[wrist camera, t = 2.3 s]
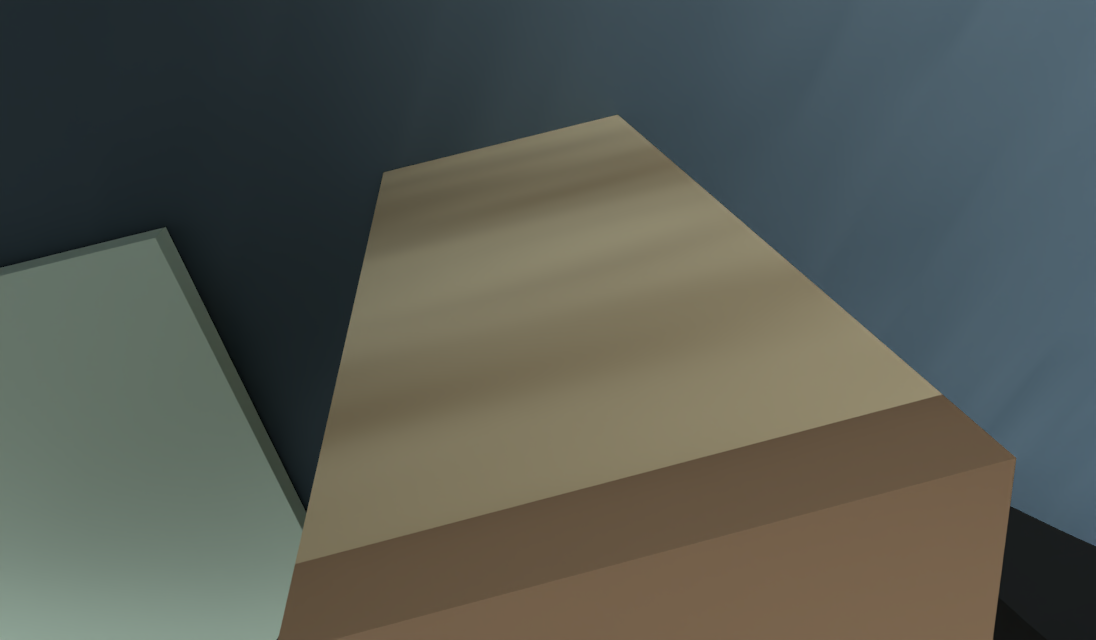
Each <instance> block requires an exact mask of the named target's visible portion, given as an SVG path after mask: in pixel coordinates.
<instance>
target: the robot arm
mask: <svg viewBox="0 0 1096 640" xmlns="http://www.w3.org/2000/svg"><path fill="white" fill-rule="evenodd" d="M278 637H279V636H278ZM277 640H278V638H277ZM993 640H1096V546H1094V545H1091V544H1089V543H1087V542H1085V541H1082V540H1080V539H1078V538H1076V537H1073V536H1071V535H1069V534H1067V533H1065V532H1063V531H1060V530H1058V529H1056V528H1054V527H1052V526H1050V525H1048V524H1046V523H1044V522H1042V521H1040V520H1038V519H1036V518H1034V517H1031V516H1029V515H1027V514H1025V513H1023V512H1021V511H1019V510H1017V509H1015V508H1013V507H1011V506H1010V510H1009V518H1008V525H1007V533H1006V541H1005V549H1004V556H1003V564H1002V572H1001V580H1000V587H999V595H998V603H997V611H996V618H995V626H994V634H993Z"/></svg>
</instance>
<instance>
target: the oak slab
mask: <svg viewBox="0 0 1096 640" xmlns="http://www.w3.org/2000/svg"><path fill="white" fill-rule="evenodd" d="M1015 463H1016V457H1014V456H1013V455H1012V454H1011V453H1010V452H1009V451H1007V450H1006V449H1005V448H1004V447H1003V446H1002V445H1000V444H999V443H998V442H997V441H996V440H995V439H994V438H992V437H991V436H990V435H989V434H988V433H987V432H985V431H984V430H983V429H982V428H981V427H980V426H978V425H977V424H976V423H975V422H974V421H973V420H971V419H970V418H969V417H968V416H967V415H966V414H965V413H963V412H962V411H961V410H960V409H959V408H958V407H956V406H955V405H954V404H953V403H952V402H951V401H949V400H948V399H947V398H946V397H945V396H944V395H942V394H941V393H940V392H939V391H938V390H937V389H936V388H934V387H933V386H932V385H931V384H930V383H929V382H927V381H926V380H925V379H924V378H923V377H922V376H920V375H919V374H918V373H917V372H916V371H915V370H913V369H912V368H911V367H910V366H909V365H908V364H907V363H905V362H904V361H903V360H902V359H901V358H900V357H898V356H897V355H896V354H895V353H894V352H893V351H891V350H890V349H889V348H888V347H887V346H886V345H884V344H883V343H882V342H881V341H880V340H879V339H877V338H876V337H875V336H874V335H873V334H872V333H871V332H869V331H868V330H867V329H866V328H865V327H864V326H862V325H861V324H860V323H859V322H858V321H857V320H855V319H854V318H853V317H852V316H851V315H850V314H848V313H847V312H846V311H845V310H844V309H843V308H842V307H840V306H839V305H838V304H837V303H836V302H835V301H833V300H832V299H831V298H830V297H829V296H828V295H826V294H825V293H824V292H823V291H822V290H821V289H819V288H818V287H817V286H816V285H815V284H814V283H813V282H811V281H810V280H809V279H808V278H807V277H806V276H804V275H803V274H802V273H801V272H800V271H799V270H797V269H796V268H795V267H794V266H793V265H792V264H790V263H789V262H788V261H787V260H786V259H785V258H784V257H782V256H781V255H780V254H779V253H778V252H777V251H775V250H774V249H773V248H772V247H771V246H770V245H768V244H767V243H766V242H765V241H764V240H763V239H761V238H760V237H759V236H758V235H757V234H756V233H755V232H753V231H752V230H751V229H750V228H749V227H748V226H746V225H745V224H744V223H743V222H742V221H741V220H739V219H738V218H737V217H736V216H735V215H734V214H732V213H731V212H730V211H729V210H728V209H727V208H725V207H724V206H723V205H722V204H721V203H720V202H719V201H717V200H716V199H715V198H714V197H713V196H712V195H710V194H709V193H708V192H707V191H706V190H705V189H703V188H702V187H701V186H700V185H699V184H698V183H696V182H695V181H694V180H693V179H692V178H691V177H690V176H688V175H687V174H686V173H685V172H684V171H683V170H681V169H680V168H679V167H678V166H677V165H676V164H674V163H673V162H672V161H671V160H670V159H669V158H667V157H666V156H665V155H664V154H663V153H662V152H661V151H659V150H658V149H657V148H656V147H655V146H654V145H652V144H651V143H650V142H649V141H648V140H647V139H645V138H644V137H643V136H642V135H641V134H640V133H638V132H637V131H636V130H635V129H634V128H633V127H632V126H630V125H629V124H628V123H627V122H626V121H625V120H623V119H622V118H621V117H620V116H619V115H614V116H610V117H606V118H602V119H598V120H594V121H590V122H586V123H582V124H578V125H574V126H570V127H565V128H561V129H557V130H553V131H549V132H545V133H541V134H537V135H533V136H529V137H525V138H521V139H517V140H513V141H509V142H505V143H501V144H497V145H492V146H488V147H484V148H480V149H476V150H472V151H468V152H464V153H460V154H456V155H452V156H448V157H444V158H440V159H436V160H432V161H428V162H423V163H419V164H415V165H411V166H407V167H403V168H399V169H395V170H391V171H387V172H383V177H382V181H381V186H380V190H379V194H378V199H377V203H376V208H375V212H374V217H373V221H372V225H371V230H370V234H369V239H368V243H367V248H366V252H365V256H364V261H363V265H362V270H361V274H360V279H359V283H358V287H357V292H356V296H355V301H354V305H353V310H352V314H351V318H350V323H349V327H348V332H347V336H346V341H345V345H344V349H343V354H342V358H341V363H340V367H339V372H338V376H337V380H336V385H335V389H334V394H333V398H332V403H331V407H330V411H329V416H328V420H327V425H326V429H325V434H324V438H323V442H322V447H321V451H320V456H319V460H318V465H317V469H316V473H315V478H314V482H313V487H312V491H311V496H310V500H309V504H308V509H307V513H306V518H305V522H304V527H303V531H302V535H301V540H300V544H299V549H298V553H297V558H296V562H295V566H294V571H293V575H292V580H291V584H290V589H289V593H288V597H287V602H286V606H285V611H284V615H283V620H282V624H281V628H280V633H279V637H278V640H993V634H994V626H995V618H996V611H997V603H998V595H999V587H1000V580H1001V572H1002V564H1003V556H1004V549H1005V541H1006V533H1007V525H1008V518H1009V510H1010V502H1011V494H1012V486H1013V479H1014V471H1015Z"/></svg>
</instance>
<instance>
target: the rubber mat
mask: <svg viewBox="0 0 1096 640" xmlns="http://www.w3.org/2000/svg"><path fill="white" fill-rule="evenodd" d="M305 518H306V511H305V509H304V507H303V505H302V503H301V501H300V499H299V497H298V495H297V493H296V491H295V489H294V487H293V485H292V483H291V481H290V479H289V477H288V475H287V473H286V471H285V469H284V467H283V465H282V462H281V460H280V458H279V456H278V454H277V452H276V450H275V448H274V446H273V444H272V442H271V440H270V438H269V436H268V434H267V432H266V430H265V428H264V426H263V424H262V422H261V420H260V418H259V416H258V414H257V412H256V410H255V408H254V406H253V404H252V401H251V399H250V397H249V395H248V393H247V391H246V389H245V387H244V385H243V383H242V381H241V379H240V377H239V375H238V373H237V371H236V369H235V367H234V365H233V363H232V361H231V359H230V357H229V355H228V353H227V351H226V349H225V347H224V345H223V342H222V340H221V338H220V336H219V334H218V332H217V330H216V328H215V326H214V324H213V322H212V320H211V318H210V316H209V314H208V312H207V310H206V308H205V306H204V304H203V302H202V300H201V298H200V296H199V294H198V292H197V290H196V288H195V286H194V283H193V281H192V279H191V277H190V275H189V273H188V271H187V269H186V267H185V265H184V263H183V261H182V259H181V257H180V255H179V253H178V251H177V249H176V247H175V245H174V243H173V241H172V239H171V237H170V235H169V233H168V231H167V229H166V227H164V228H160V229H156V230H152V231H148V232H144V233H139V234H135V235H131V236H127V237H123V238H119V239H115V240H111V241H107V242H103V243H99V244H95V245H91V246H87V247H83V248H79V249H75V250H70V251H66V252H62V253H58V254H54V255H50V256H46V257H42V258H38V259H34V260H30V261H26V262H22V263H18V264H14V265H10V266H6V267H2V268H0V640H277V638H278V636H279V633H280V628H281V624H282V620H283V615H284V611H285V606H286V602H287V597H288V593H289V589H290V584H291V580H292V575H293V571H294V566H295V562H296V558H297V553H298V549H299V544H300V540H301V535H302V531H303V527H304V522H305Z"/></svg>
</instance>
